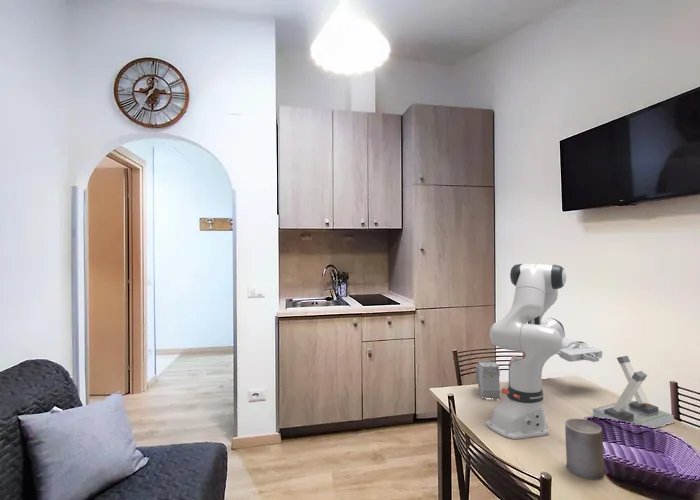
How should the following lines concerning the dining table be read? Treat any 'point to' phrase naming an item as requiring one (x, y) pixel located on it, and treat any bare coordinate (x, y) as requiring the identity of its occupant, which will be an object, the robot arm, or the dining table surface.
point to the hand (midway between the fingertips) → (596, 360)
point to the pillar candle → (584, 448)
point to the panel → (636, 414)
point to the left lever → (630, 391)
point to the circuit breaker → (488, 379)
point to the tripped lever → (629, 373)
